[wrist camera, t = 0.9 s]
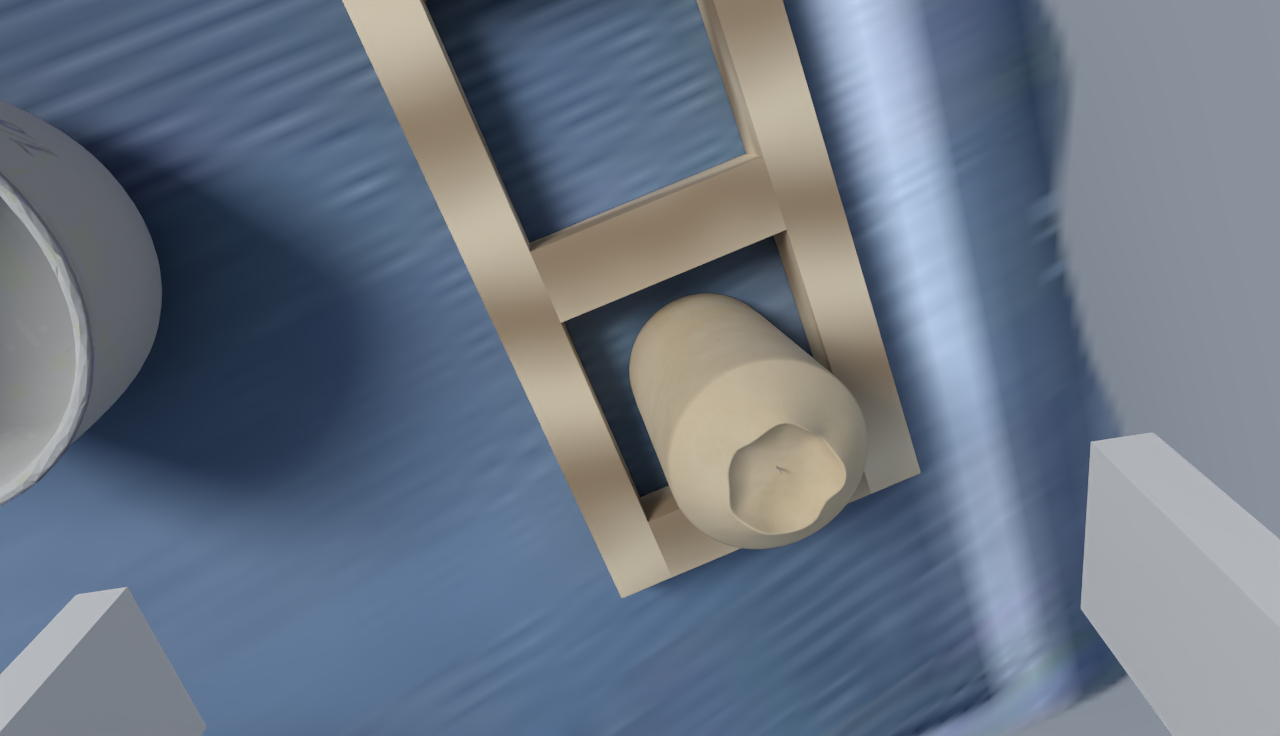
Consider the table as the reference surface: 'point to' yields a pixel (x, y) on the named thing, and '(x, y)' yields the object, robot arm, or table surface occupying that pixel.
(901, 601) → the table surface
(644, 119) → the table surface
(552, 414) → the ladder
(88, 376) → the teacup
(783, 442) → the candle
